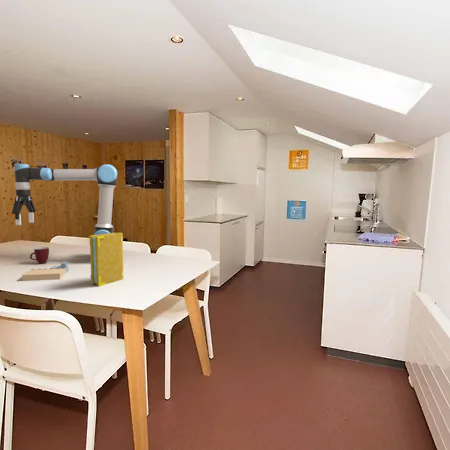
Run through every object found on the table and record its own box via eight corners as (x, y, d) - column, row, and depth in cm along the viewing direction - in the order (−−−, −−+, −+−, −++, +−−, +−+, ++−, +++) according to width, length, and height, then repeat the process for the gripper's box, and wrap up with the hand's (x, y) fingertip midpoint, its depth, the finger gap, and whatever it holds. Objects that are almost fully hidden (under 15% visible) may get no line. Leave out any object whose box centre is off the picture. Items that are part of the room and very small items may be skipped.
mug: (31, 265, 192) (30, 250, 191) (29, 263, 198) (28, 248, 197) (50, 263, 199) (50, 248, 197) (48, 261, 205) (47, 246, 204)
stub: (68, 270, 182) (68, 261, 181) (66, 272, 177) (65, 263, 176) (53, 271, 180) (53, 261, 179) (50, 273, 175) (50, 264, 174)
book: (99, 286, 153) (97, 236, 151) (90, 284, 157) (89, 235, 154) (126, 278, 168) (125, 233, 165) (118, 276, 171) (117, 232, 168)
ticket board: (65, 273, 176) (65, 267, 176) (59, 279, 165) (59, 273, 164) (30, 274, 172) (30, 269, 172) (22, 280, 160) (21, 274, 160)
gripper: (28, 189, 201) (30, 221, 203) (3, 189, 176) (5, 225, 178) (40, 189, 201) (42, 221, 203) (16, 189, 176) (19, 225, 179)
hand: (25, 223), depth 191 cm, fingers open, 13 cm apart
